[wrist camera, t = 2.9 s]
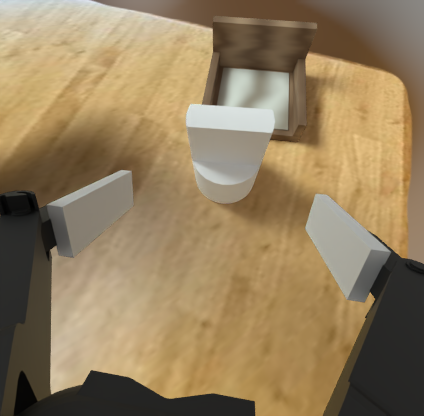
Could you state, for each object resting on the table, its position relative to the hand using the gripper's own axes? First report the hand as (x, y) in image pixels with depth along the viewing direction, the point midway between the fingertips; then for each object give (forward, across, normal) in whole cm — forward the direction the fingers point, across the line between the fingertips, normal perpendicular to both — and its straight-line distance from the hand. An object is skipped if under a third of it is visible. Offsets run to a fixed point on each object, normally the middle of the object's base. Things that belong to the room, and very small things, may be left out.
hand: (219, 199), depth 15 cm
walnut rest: (+29, +3, +8) cm, 30 cm away
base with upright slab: (+18, 0, -3) cm, 18 cm away
